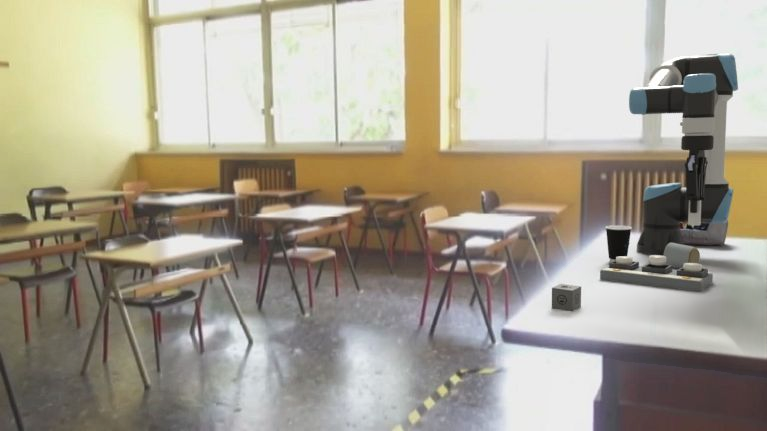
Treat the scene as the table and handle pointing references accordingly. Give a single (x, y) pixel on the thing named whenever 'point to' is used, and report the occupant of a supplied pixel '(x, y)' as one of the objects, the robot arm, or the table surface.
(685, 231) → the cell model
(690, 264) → the button
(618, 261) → the button
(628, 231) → the dixie cup
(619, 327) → the table surface
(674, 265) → the ceramic mug
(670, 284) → the button board
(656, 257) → the middle button
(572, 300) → the dice cube
